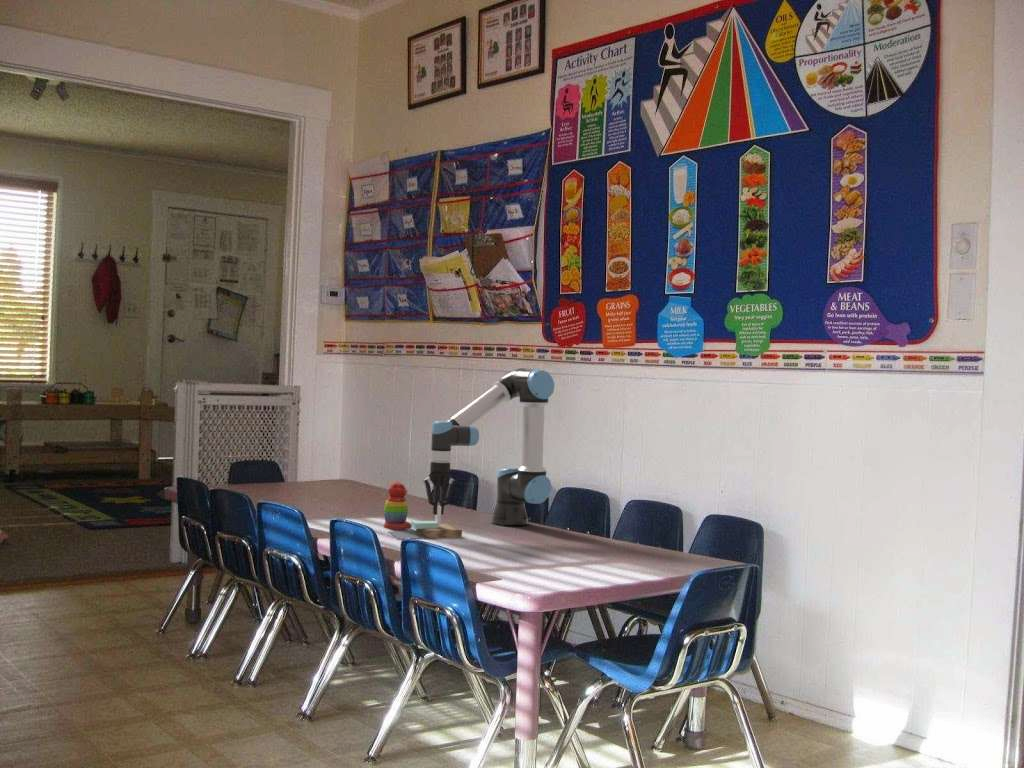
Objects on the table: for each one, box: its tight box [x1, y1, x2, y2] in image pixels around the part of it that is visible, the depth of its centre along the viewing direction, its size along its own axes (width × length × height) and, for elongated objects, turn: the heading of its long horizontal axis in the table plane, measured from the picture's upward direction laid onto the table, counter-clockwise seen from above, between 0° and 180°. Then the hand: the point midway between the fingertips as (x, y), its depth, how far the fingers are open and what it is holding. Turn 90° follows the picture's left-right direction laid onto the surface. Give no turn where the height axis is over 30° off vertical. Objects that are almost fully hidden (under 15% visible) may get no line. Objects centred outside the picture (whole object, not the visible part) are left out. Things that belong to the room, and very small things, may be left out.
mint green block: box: [410, 520, 438, 530], centre depth 419 cm, size 9×6×2 cm, turn 110°
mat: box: [387, 530, 428, 540], centre depth 417 cm, size 11×16×1 cm
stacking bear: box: [383, 481, 411, 531], centre depth 435 cm, size 11×10×18 cm
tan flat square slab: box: [415, 523, 463, 539], centre depth 422 cm, size 14×14×3 cm
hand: (437, 523), depth 421 cm, fingers closed
